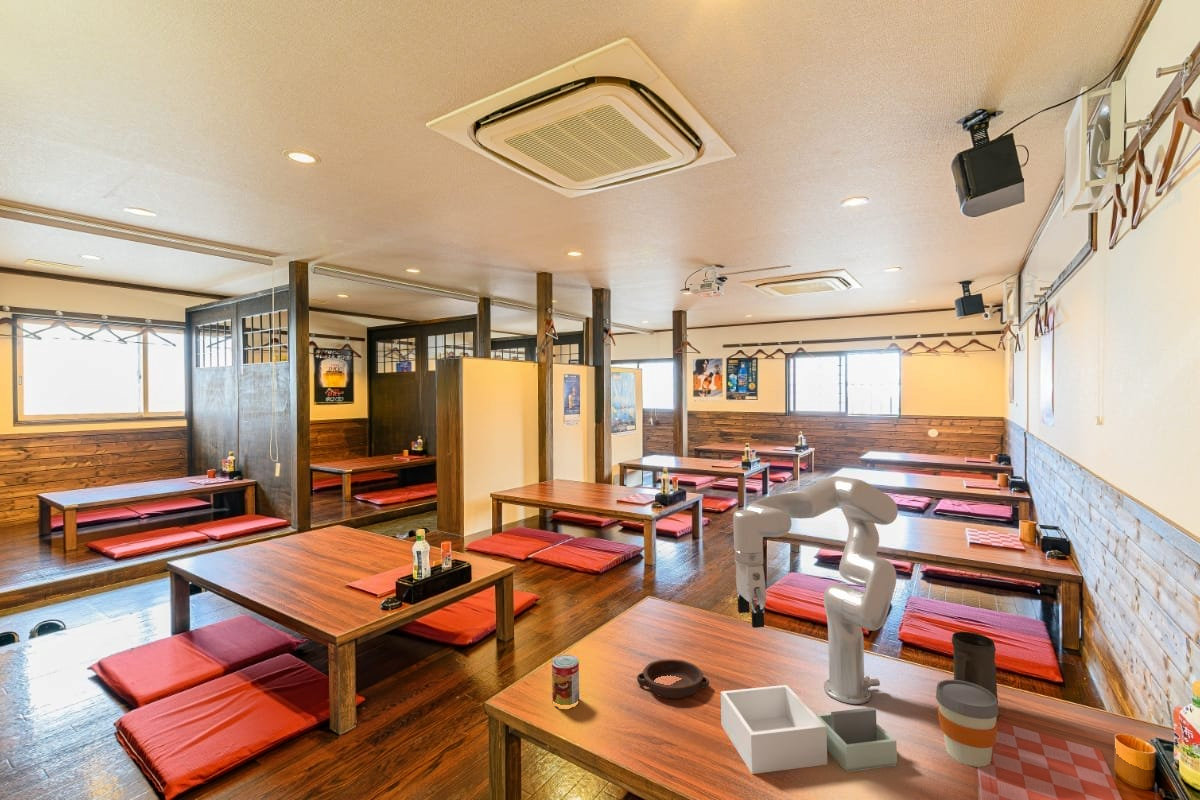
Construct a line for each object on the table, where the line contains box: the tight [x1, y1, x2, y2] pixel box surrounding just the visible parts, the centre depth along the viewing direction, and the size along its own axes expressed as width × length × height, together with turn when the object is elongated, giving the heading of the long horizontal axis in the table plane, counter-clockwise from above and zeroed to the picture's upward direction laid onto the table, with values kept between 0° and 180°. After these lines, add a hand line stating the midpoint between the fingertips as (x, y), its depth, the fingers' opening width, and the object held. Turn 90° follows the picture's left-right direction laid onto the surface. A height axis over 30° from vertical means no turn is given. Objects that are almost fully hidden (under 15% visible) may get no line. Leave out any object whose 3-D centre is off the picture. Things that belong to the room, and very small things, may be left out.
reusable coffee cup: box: [935, 679, 1000, 768], centre depth 127 cm, size 13×13×15 cm
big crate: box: [720, 684, 828, 775], centre depth 132 cm, size 19×19×9 cm
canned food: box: [551, 654, 580, 705], centre depth 152 cm, size 8×8×12 cm
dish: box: [636, 658, 710, 700], centre depth 159 cm, size 18×22×5 cm
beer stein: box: [951, 631, 1000, 718], centre depth 144 cm, size 15×11×20 cm
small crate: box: [815, 706, 898, 773], centre depth 129 cm, size 13×13×10 cm
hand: (750, 619), depth 141 cm, fingers open, 9 cm apart
